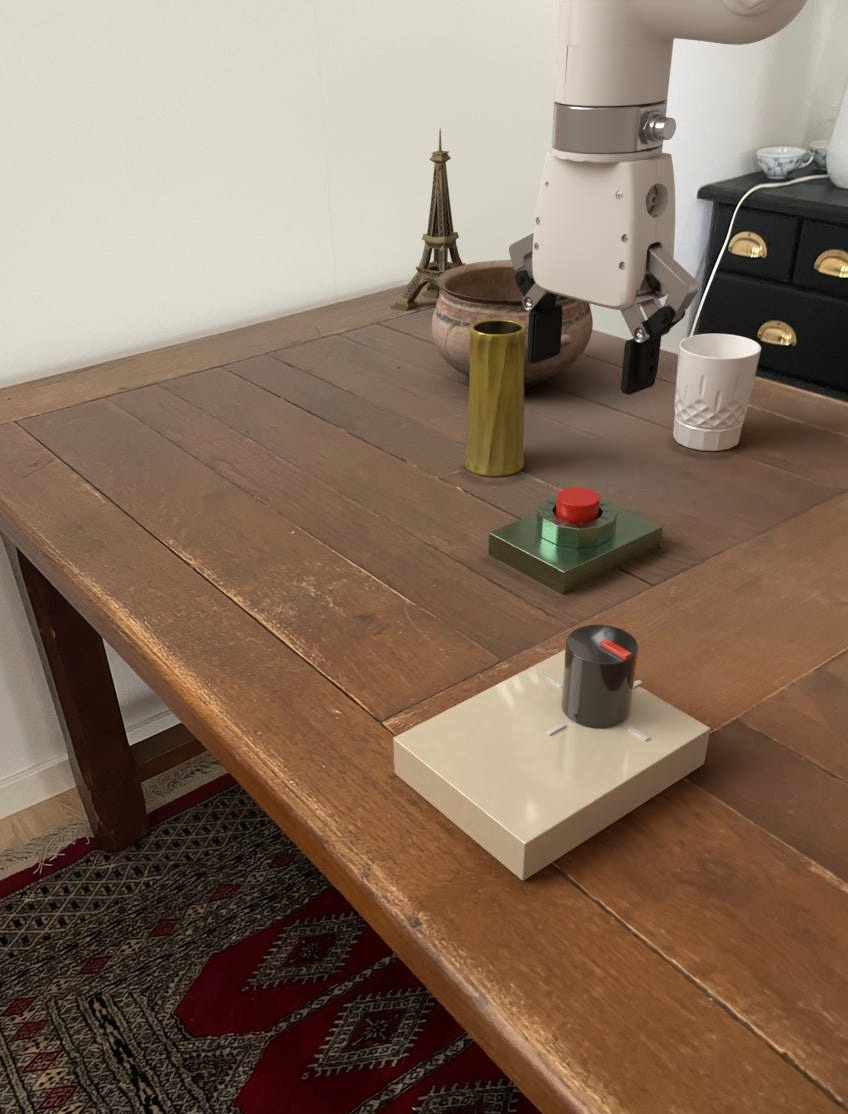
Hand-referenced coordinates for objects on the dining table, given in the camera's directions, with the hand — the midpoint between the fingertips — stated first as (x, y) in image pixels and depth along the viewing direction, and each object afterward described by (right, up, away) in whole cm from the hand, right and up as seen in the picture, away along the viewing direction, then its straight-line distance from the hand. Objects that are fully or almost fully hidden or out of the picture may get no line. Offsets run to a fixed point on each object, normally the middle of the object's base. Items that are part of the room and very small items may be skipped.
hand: (588, 373), depth 80 cm
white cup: (+19, 0, +29) cm, 34 cm away
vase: (-4, -3, +25) cm, 26 cm away
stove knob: (-2, -25, -13) cm, 29 cm away
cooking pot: (0, +11, +46) cm, 47 cm away
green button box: (+1, -13, +10) cm, 16 cm away
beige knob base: (-6, -29, -14) cm, 33 cm away
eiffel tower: (-6, +29, +74) cm, 80 cm away
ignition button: (+1, -10, +8) cm, 13 cm away
